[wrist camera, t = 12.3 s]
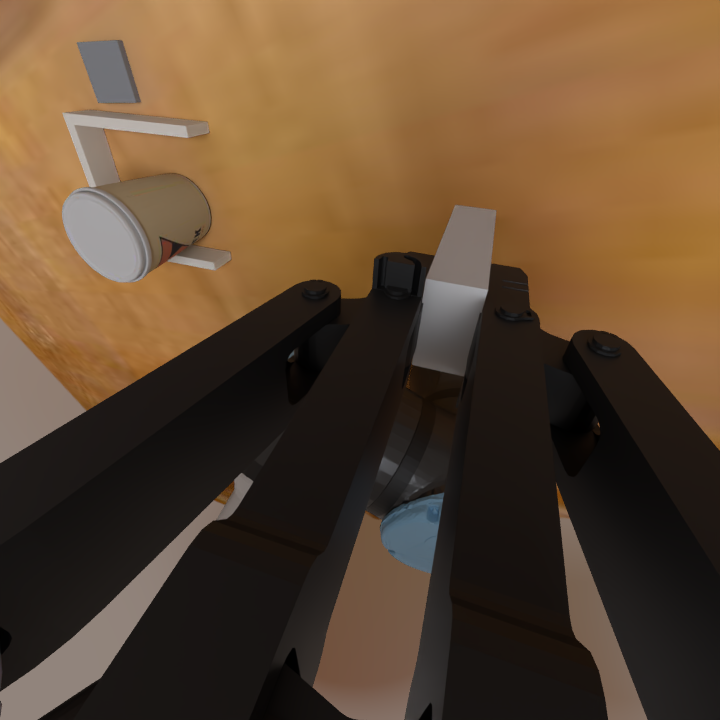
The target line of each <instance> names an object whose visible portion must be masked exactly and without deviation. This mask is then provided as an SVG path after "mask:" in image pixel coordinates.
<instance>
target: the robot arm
mask: <svg viewBox="0 0 720 720" xmlns="http://www.w3.org/2000/svg"><path fill="white" fill-rule="evenodd" d="M495 219H496V210H490V209H483V208H475V207H468V206H460V205H455V207H454V210H453V212H452V215H451V217H450V220H449V222H448V225H447V227H446V230H445V232H444V235H443V237H442V240H441V242H440V245H439V247H438V250H437V252H436V255H435V256H434V255H428V254H422V253H415V252H408V253H400V252H391V253H384V254H381V255H378V256H377V257H376V258H374V271H373V285H372V290H371V291H370V293H369V294H368V296H367V297H366V298H360V299H341V290H340V289H339V287H338V286H337V285H335V284H332V283H330V282H326V281H323V280H310V281H305V282H301V283H299V284H296V285H294V286H293V287H291V288H289V289H288V290H286V291H284V292H283V293H281V294H279V295H278V296H276V297H274V298H273V299H271V300H269V301H268V302H266V303H264V304H263V305H261V306H260V307H258V308H256V309H255V310H253V311H251V312H250V313H248V314H246V315H245V316H243V317H241V318H240V319H238V320H236V321H235V322H233V323H231V324H230V325H228V326H226V327H225V328H223V329H222V330H220V331H218V332H217V333H215V334H213V335H212V336H210V337H208V338H207V339H205V340H203V341H202V342H200V343H198V344H197V345H195V346H193V347H192V348H190V349H188V350H187V351H185V352H183V353H182V354H180V355H179V356H177V357H175V358H174V359H172V360H170V361H169V362H167V363H165V364H164V365H162V366H160V367H159V368H157V369H155V370H154V371H152V372H150V373H149V374H147V375H145V376H144V377H142V378H141V379H139V380H137V381H136V382H134V383H132V384H131V385H129V386H127V387H126V388H124V389H122V390H121V391H119V392H117V393H116V394H114V395H112V396H111V397H109V398H107V399H106V400H104V401H102V402H101V403H99V404H98V405H96V406H94V407H93V408H91V409H89V410H88V411H86V412H84V413H83V414H81V415H79V416H78V417H76V418H74V419H73V420H71V421H69V422H68V423H66V424H64V425H63V426H61V427H60V428H58V429H56V430H55V431H53V432H52V433H50V434H48V435H46V436H45V437H43V438H41V439H40V440H38V441H36V442H35V443H33V444H32V445H30V446H28V447H27V448H25V449H23V450H22V451H20V452H19V453H17V454H15V455H13V456H12V457H10V458H8V459H7V460H5V461H3V462H2V463H0V691H2V690H3V689H5V688H6V687H7V686H9V685H10V684H12V683H13V682H15V681H16V680H18V679H19V678H20V677H22V676H23V675H25V674H26V673H28V672H29V671H31V670H32V669H33V668H35V667H36V666H37V665H39V664H40V663H41V662H42V661H44V660H45V659H46V658H47V657H49V656H50V655H51V654H52V653H54V652H55V651H56V650H57V649H59V648H60V647H61V646H62V645H64V644H65V643H66V642H67V641H69V640H70V639H71V638H72V637H73V636H75V635H76V634H77V633H78V632H79V631H80V630H81V629H82V628H83V627H84V626H85V625H86V624H87V623H89V622H90V621H91V620H92V619H93V618H94V617H95V616H96V615H97V614H98V613H100V612H101V611H102V610H103V609H104V608H105V607H106V606H107V605H108V604H109V603H110V602H111V601H112V600H113V599H114V598H115V597H116V596H117V595H118V594H119V593H120V592H121V591H122V590H123V589H124V588H125V587H126V586H127V585H128V584H129V583H130V582H131V581H132V580H133V579H134V578H135V577H136V576H137V575H138V574H139V573H140V572H141V571H142V570H143V569H144V568H145V567H146V566H147V565H148V564H149V563H151V561H153V560H154V558H156V556H158V555H159V553H161V552H162V551H163V550H164V549H165V548H166V547H167V546H168V545H169V544H170V543H171V542H172V541H173V540H174V539H175V538H176V537H177V536H178V535H179V534H180V533H181V532H182V531H183V530H184V529H185V528H186V527H187V526H188V525H189V524H190V523H191V522H192V521H193V520H194V519H195V518H196V517H197V516H198V515H199V514H200V513H201V512H202V511H203V510H204V509H205V508H206V507H207V506H208V505H209V504H210V503H211V502H212V501H213V500H214V499H215V498H216V497H217V496H218V495H219V494H220V493H221V492H222V491H223V490H224V489H225V488H227V487H228V486H229V485H230V484H231V483H232V482H233V481H234V482H235V489H234V491H233V493H232V494H231V496H230V498H229V499H228V501H227V503H226V504H225V506H224V508H223V510H222V511H221V513H220V515H219V516H218V518H217V520H216V521H212V522H211V523H210V524H208V525H207V526H206V527H205V528H203V529H202V530H201V532H200V533H199V534H198V535H197V536H196V538H195V539H194V540H193V542H192V543H191V544H190V545H189V547H188V548H187V550H186V551H185V553H184V554H183V556H182V557H181V559H180V560H179V562H178V563H177V565H176V566H175V568H174V569H173V571H172V572H171V574H170V575H169V577H168V578H167V580H166V581H165V583H164V584H163V586H162V587H161V589H160V590H159V592H158V593H157V595H156V596H155V598H154V599H153V601H152V602H151V604H150V605H149V607H148V608H147V610H146V611H145V613H144V614H143V616H142V617H141V619H140V620H139V622H138V624H137V625H136V626H135V628H134V629H133V631H132V632H131V634H130V635H129V637H128V638H127V640H126V641H125V643H124V644H123V646H122V647H121V649H120V650H119V652H118V653H117V655H116V656H115V658H114V659H113V661H112V662H111V664H110V665H109V667H108V668H107V670H106V671H105V673H104V674H103V676H102V677H101V678H100V679H99V680H97V681H95V682H94V683H92V684H91V685H89V686H88V687H86V688H85V689H83V690H82V691H81V692H79V693H77V694H76V695H74V696H73V697H71V698H70V699H68V700H67V701H65V702H64V703H62V704H61V705H59V706H58V707H56V708H55V709H53V710H52V711H50V712H49V713H47V714H46V715H44V716H43V717H41V718H40V719H38V720H356V719H351V718H349V717H347V716H345V715H344V714H342V713H341V712H339V710H337V709H336V708H335V707H334V706H333V705H332V704H331V703H329V702H328V701H327V700H326V699H325V698H324V697H323V696H321V695H320V694H319V693H318V692H317V691H316V690H315V689H314V688H312V687H313V684H314V680H315V677H316V674H317V670H318V667H319V663H320V659H321V656H322V651H323V647H324V642H325V638H326V632H327V629H328V625H329V622H330V618H331V615H332V612H333V609H334V606H335V603H336V599H337V597H338V594H339V591H340V587H341V584H342V581H343V578H344V575H345V572H346V569H347V566H348V563H349V560H350V557H351V554H352V550H353V547H354V544H355V541H356V538H357V535H358V532H359V529H360V526H361V523H362V520H363V516H364V513H365V510H366V511H368V512H370V513H371V514H373V515H375V516H377V517H378V518H380V519H382V522H381V525H380V531H381V540H382V543H383V545H384V547H385V548H386V549H388V551H389V553H390V554H391V555H392V556H393V557H394V558H396V559H397V560H399V561H400V562H402V563H404V564H406V565H408V566H410V567H413V568H415V569H418V570H421V571H424V572H427V573H431V577H430V584H429V590H428V596H427V603H426V609H425V615H424V621H423V627H422V633H421V639H420V646H419V652H418V657H417V662H416V667H415V672H414V676H413V680H412V684H411V688H410V693H409V698H408V703H407V708H406V714H405V719H404V720H608V716H607V710H606V702H605V697H604V692H603V687H602V683H601V678H600V674H599V670H598V668H597V666H596V664H595V661H594V659H593V657H592V655H591V652H590V651H589V650H587V648H585V647H584V646H583V645H582V644H581V643H580V642H579V641H578V640H577V639H576V638H575V635H574V633H573V631H572V627H571V622H570V615H569V606H568V596H567V586H566V576H565V566H564V557H563V548H562V537H561V527H560V517H559V508H558V498H557V488H556V483H557V486H558V488H559V491H560V493H561V496H562V499H563V501H564V504H565V506H566V509H567V512H568V514H569V517H570V519H571V522H572V524H573V527H574V530H575V532H576V535H577V538H578V540H579V543H580V545H581V548H582V550H583V553H584V556H585V558H586V561H587V563H588V566H589V568H590V571H591V574H592V576H593V579H594V582H595V584H596V587H597V589H598V592H599V595H600V597H601V600H602V602H603V605H604V607H605V610H606V612H607V615H608V618H609V620H610V623H611V625H612V628H613V631H614V633H615V636H616V639H617V641H618V643H619V646H620V649H621V652H622V654H623V657H624V659H625V662H626V665H627V667H628V670H629V672H630V675H631V678H632V680H633V683H634V685H635V688H636V691H637V693H638V696H639V698H640V701H641V703H642V706H643V708H644V711H645V714H646V716H647V719H648V720H720V451H719V450H718V448H717V447H716V446H715V445H714V444H713V442H712V441H711V440H710V439H709V437H708V436H707V435H706V434H705V433H704V431H703V430H702V429H701V428H700V427H699V425H698V424H697V423H696V422H695V421H694V419H693V418H692V417H691V416H690V415H689V413H688V412H687V411H686V410H685V409H684V407H683V406H682V405H681V404H680V403H679V401H678V400H677V399H676V398H675V397H674V395H673V394H672V393H671V392H670V391H669V389H668V388H667V387H666V386H665V385H664V383H663V382H662V381H661V380H660V379H659V377H658V376H657V375H656V374H655V373H654V371H653V370H652V369H651V368H650V367H649V365H648V364H647V363H646V362H645V361H644V359H643V358H642V357H641V356H640V355H639V353H638V352H637V351H636V350H635V349H634V348H633V347H632V346H631V345H630V344H629V343H628V342H626V341H624V340H622V339H621V338H619V337H618V336H616V335H614V334H611V333H610V334H609V332H605V331H596V330H581V331H578V332H576V333H574V335H573V337H572V338H571V341H570V342H569V341H567V340H564V339H561V338H558V337H556V336H553V335H551V334H549V333H547V332H545V331H543V330H542V329H540V322H539V318H538V315H537V313H535V312H534V311H533V310H532V309H531V308H530V303H529V292H528V291H529V289H528V276H527V275H526V274H525V273H524V272H523V271H522V270H521V269H520V268H516V267H510V266H503V265H497V264H491V257H492V248H493V238H494V229H495ZM412 358H413V360H412ZM411 361H412V365H413V367H412V370H411V374H410V389H408V388H406V384H407V381H408V378H409V373H410V367H411ZM598 422H599V425H600V428H599V426H598ZM1 707H2V703H1V701H0V715H1Z"/></svg>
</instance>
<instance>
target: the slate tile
mask: <svg viewBox="0 0 720 720" xmlns="http://www.w3.org/2000/svg"><path fill="white" fill-rule="evenodd" d="M77 45H78V48H79V50H80V53H81V56H82V59H83V61H84V64H85V67H86V70H87V73H88V75H89V78H90V81H91V84H92V87H93V89H94V92H95V95H96V98H97V101H98V103H137V102H141V100H140V97H139V94H138V91H137V87H136V84H135V81H134V77H133V74H132V71H131V68H130V64H129V61H128V58H127V55H126V51H125V48H124V45H123V42H122V41H121V40H113V41H95V42H77Z"/></svg>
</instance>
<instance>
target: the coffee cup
mask: <svg viewBox="0 0 720 720" xmlns="http://www.w3.org/2000/svg"><path fill="white" fill-rule="evenodd" d="M62 218H63V224H64V227H65V230H66V233H67V235H68V237H69V239H70V241H71V243H72V245H73V246H74V248H75V249H76V251H77V252H78V253H79V255H80V256H81V257H82V258H83V259H84V261H85V262H86V263H87V264H88V265H89V266H90V267H92V268H93V269H94V270H95V271H97V272H98V273H99V274H101V275H102V276H104V277H106V278H108V279H110V280H113V281H117V282H136V281H139V280H141V279H142V278H144V277H145V276H146V275H147V274H148V273H149V272H151V271H152V270H154V269H155V268H157V267H159V266H160V265H162V264H163V263H165V262H166V261H168V260H169V259H171V258H172V257H174V256H175V255H177V254H178V253H180V252H181V251H183V250H185V249H186V248H188V247H189V246H191V245H192V244H194V243H195V242H197V241H198V240H199V239H201V238H202V237H203V236H204V235H206V233H207V232H208V230H209V228H210V224H211V214H210V210H209V206H208V204H207V201H206V199H205V197H204V195H203V194H202V192H201V191H200V190H199V188H198V187H197V186H196V185H195V184H194V183H193V182H192V181H190V180H189V179H187V178H186V177H184V176H182V175H179V174H162V175H156V176H151V177H145V178H139V179H134V180H128V181H123V182H117V183H112V184H106V185H102V186H97V187H83V188H79V189H77V190H75V191H73V192H72V193H71V194H70V195H69V197H68V198H67V199H66V200H65V202H64V205H63V209H62Z"/></svg>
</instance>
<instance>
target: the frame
mask: <svg viewBox="0 0 720 720" xmlns="http://www.w3.org/2000/svg"><path fill="white" fill-rule="evenodd" d="M63 116H64V119H65V121H66V124H67V127H68V129H69V132H70V135H71V137H72V140H73V143H74V146H75V148H76V151H77V154H78V156H79V159H80V162H81V164H82V167H83V170H84V173H85V175H86V178H87V181H88V183H89V186H90V187H97V186H102V185H106V184H112V183H117V182H120V179H119V176H118V173H117V170H116V167H115V164H114V160H113V157H112V154H111V151H110V148H109V145H108V142H107V139H106V136H105V132H104V129H103V128H106V129H115V130H124V131H133V132H141V133H150V134H159V135H168V136H177V137H185V138H190V137H194V136H198V135H203V134H207V133H209V127H208V122H204V121H195V120H185V119H175V118H165V117H155V116H146V115H136V114H126V113H116V112H107V111H97V110H84V111H75V112H66V113H63ZM230 260H231V254H230V252H229V251H223V250H217V249H212V248H206V247H201V246H195V245H191V246H189V247H188V248H186V249H185V250H183V251H181V252H180V253H178V254H177V255H175V256H174V257H172V258H171V259H169V260H168V261H169V262H174V263H179V264H185V265H190V266H195V267H200V268H205V269H210V270H217V269H218V268H220V267H221V266H223V265H224V264H225V263H227V262H228V261H230Z"/></svg>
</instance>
